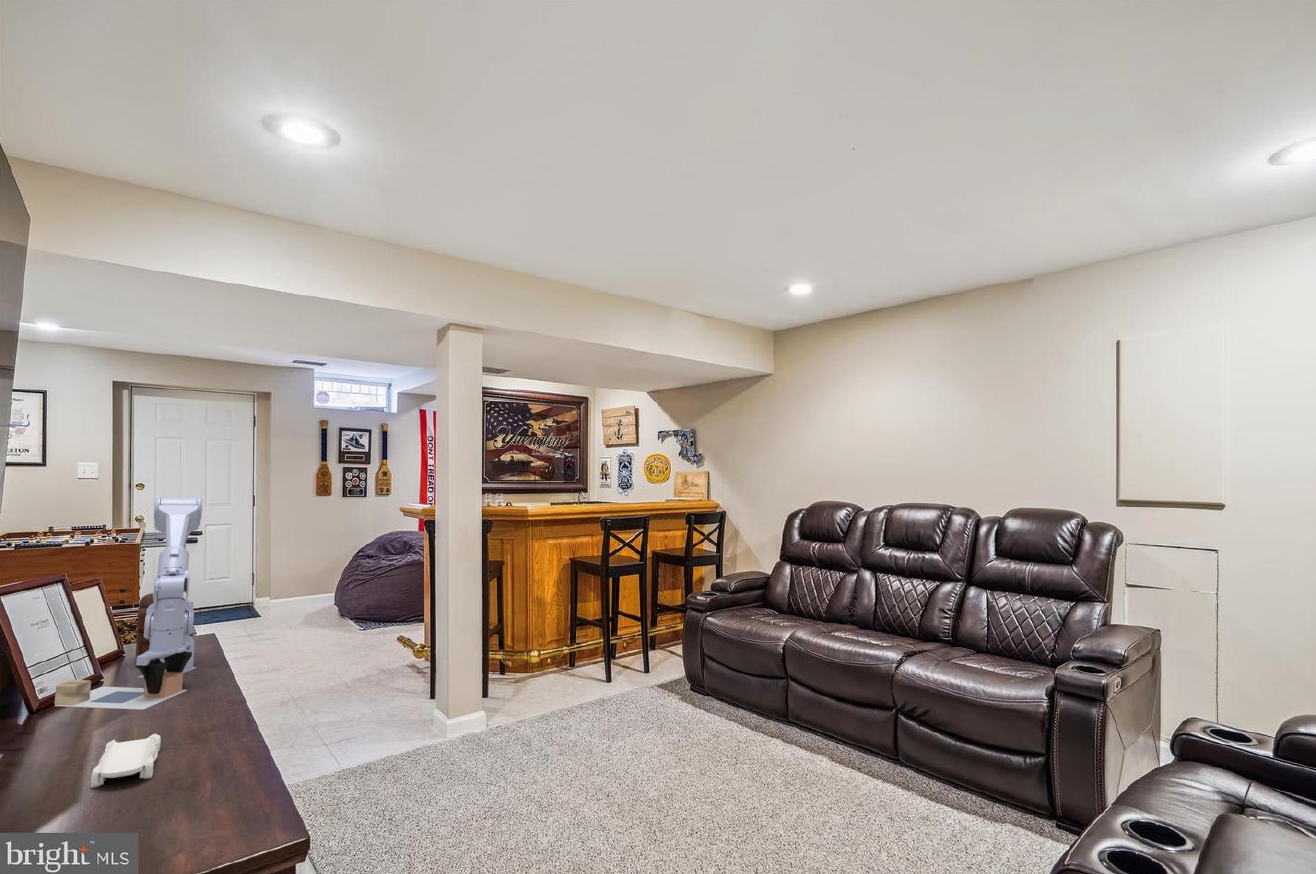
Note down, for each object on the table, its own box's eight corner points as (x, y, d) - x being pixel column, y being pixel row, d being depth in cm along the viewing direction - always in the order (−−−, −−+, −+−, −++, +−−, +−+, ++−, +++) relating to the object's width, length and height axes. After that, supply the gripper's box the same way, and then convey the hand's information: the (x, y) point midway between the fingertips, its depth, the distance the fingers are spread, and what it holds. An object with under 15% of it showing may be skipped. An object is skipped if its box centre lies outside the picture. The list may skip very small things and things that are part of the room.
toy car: (106, 755, 119) (108, 729, 120) (160, 747, 124) (162, 722, 124) (87, 797, 104) (89, 768, 104) (149, 786, 108) (151, 758, 109)
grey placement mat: (102, 688, 153) (102, 686, 153) (187, 692, 153) (187, 689, 153) (49, 708, 140) (50, 705, 140) (143, 711, 140) (143, 708, 140)
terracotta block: (160, 689, 152) (161, 671, 153) (181, 690, 152) (183, 672, 152) (143, 696, 147) (144, 678, 148) (165, 697, 147) (166, 679, 148)
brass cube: (71, 698, 145) (73, 680, 145) (89, 699, 144) (91, 680, 145) (54, 705, 141) (56, 685, 141) (73, 705, 140) (74, 686, 141)
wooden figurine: (163, 666, 172) (169, 596, 173) (132, 669, 168) (138, 597, 169) (164, 655, 181) (169, 589, 182) (134, 658, 177) (140, 590, 179)
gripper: (161, 636, 143) (156, 700, 143) (207, 622, 158) (203, 680, 157) (129, 635, 144) (123, 699, 143) (178, 621, 158) (173, 679, 157)
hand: (163, 689), depth 150 cm, fingers closed on terracotta block, 5 cm apart
